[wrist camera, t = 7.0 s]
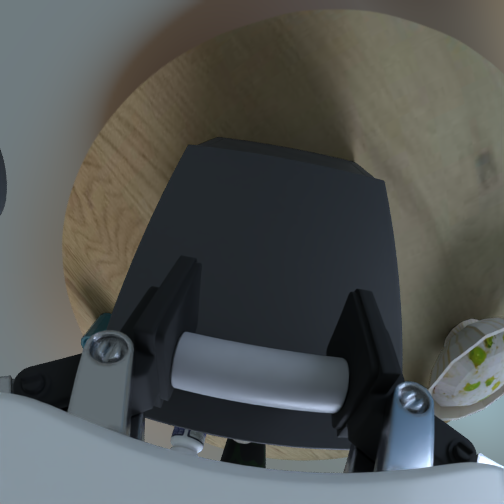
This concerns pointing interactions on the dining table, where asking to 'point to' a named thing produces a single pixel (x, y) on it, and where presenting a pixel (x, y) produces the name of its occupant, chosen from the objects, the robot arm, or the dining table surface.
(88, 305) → the dining table surface
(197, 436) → the pill bottle
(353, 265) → the chest lid
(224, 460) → the cup
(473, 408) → the bowl
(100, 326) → the creamer cup
